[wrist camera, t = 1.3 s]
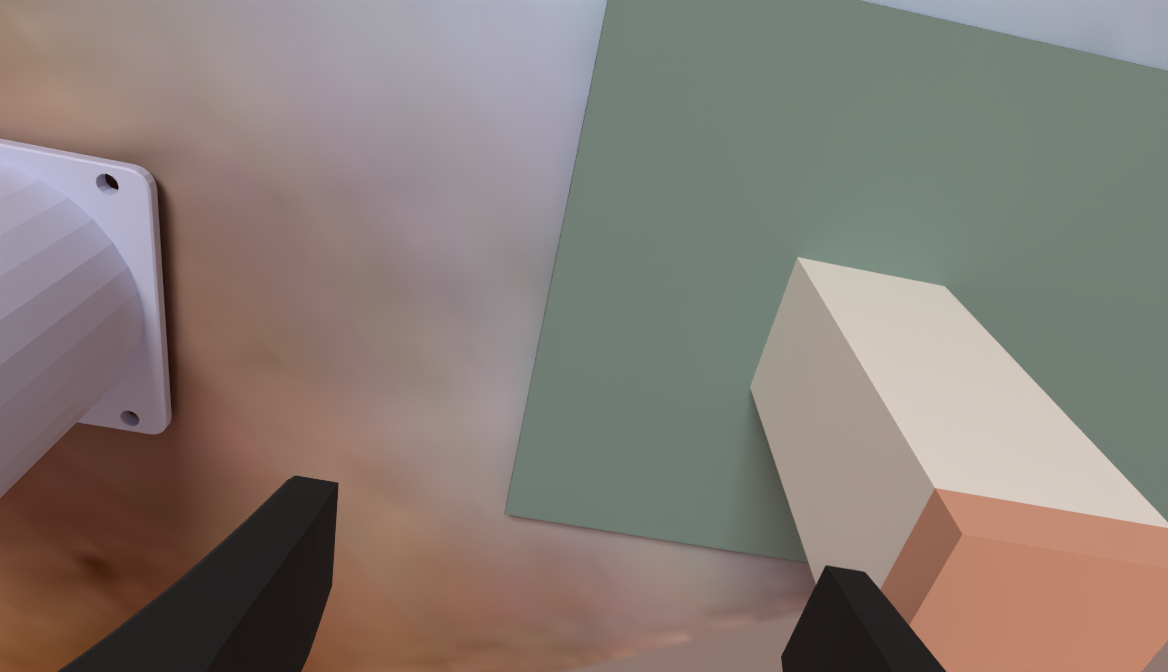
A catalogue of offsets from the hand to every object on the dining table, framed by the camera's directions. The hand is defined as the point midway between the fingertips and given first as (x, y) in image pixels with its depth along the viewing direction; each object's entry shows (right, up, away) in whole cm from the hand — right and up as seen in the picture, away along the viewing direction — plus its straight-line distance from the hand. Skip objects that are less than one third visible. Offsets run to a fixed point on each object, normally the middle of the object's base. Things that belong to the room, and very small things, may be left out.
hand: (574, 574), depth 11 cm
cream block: (+7, +3, +9) cm, 12 cm away
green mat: (+10, +3, +10) cm, 15 cm away
